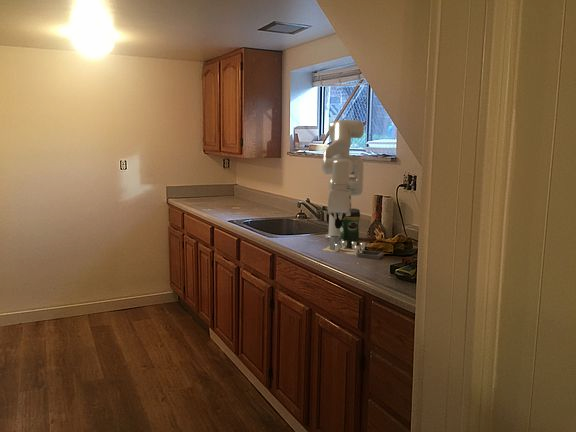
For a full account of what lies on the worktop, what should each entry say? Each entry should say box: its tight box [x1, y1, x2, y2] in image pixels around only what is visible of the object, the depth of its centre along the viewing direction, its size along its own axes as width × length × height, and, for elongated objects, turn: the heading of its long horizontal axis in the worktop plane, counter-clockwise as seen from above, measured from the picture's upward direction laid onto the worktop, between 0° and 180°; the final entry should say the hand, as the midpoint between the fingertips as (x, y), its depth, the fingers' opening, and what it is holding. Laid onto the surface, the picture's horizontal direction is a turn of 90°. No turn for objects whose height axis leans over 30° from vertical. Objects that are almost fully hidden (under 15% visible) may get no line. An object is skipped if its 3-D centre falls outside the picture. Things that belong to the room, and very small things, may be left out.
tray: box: [357, 249, 384, 260], centre depth 226 cm, size 9×9×2 cm
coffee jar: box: [339, 207, 361, 249], centre depth 246 cm, size 10×8×19 cm
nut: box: [329, 236, 342, 251], centre depth 238 cm, size 4×5×6 cm
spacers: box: [334, 241, 366, 255], centre depth 236 cm, size 11×11×4 cm
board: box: [320, 245, 361, 256], centre depth 237 cm, size 12×18×1 cm, turn 67°
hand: (338, 227), depth 238 cm, fingers closed
